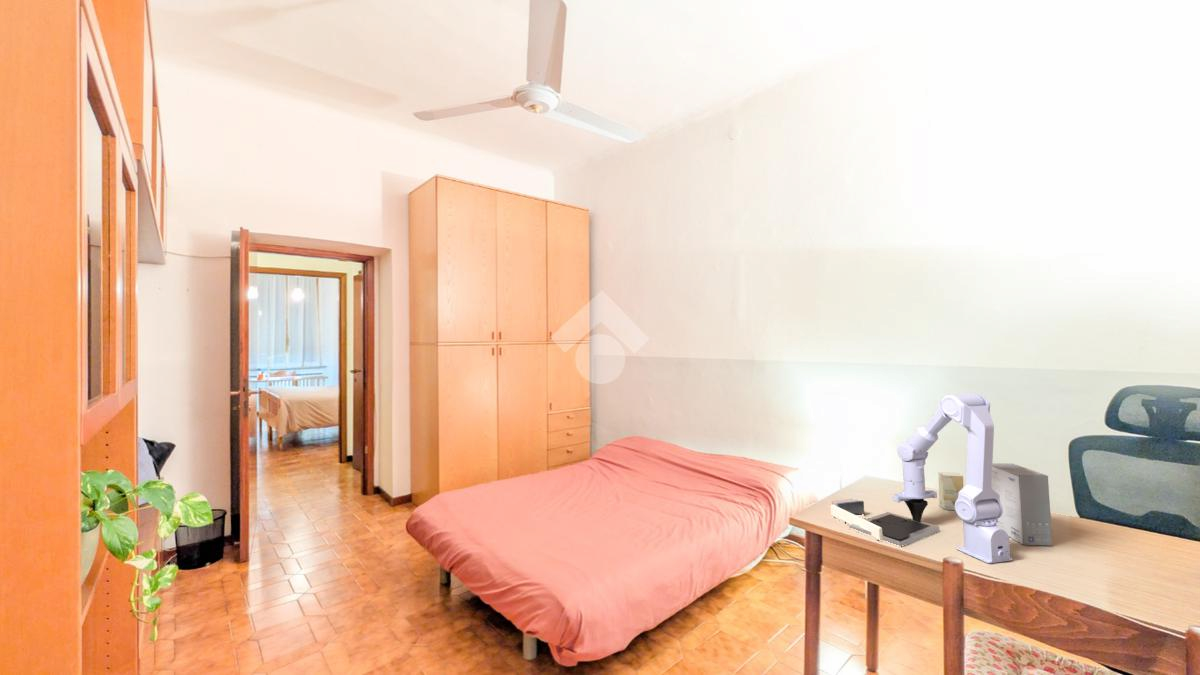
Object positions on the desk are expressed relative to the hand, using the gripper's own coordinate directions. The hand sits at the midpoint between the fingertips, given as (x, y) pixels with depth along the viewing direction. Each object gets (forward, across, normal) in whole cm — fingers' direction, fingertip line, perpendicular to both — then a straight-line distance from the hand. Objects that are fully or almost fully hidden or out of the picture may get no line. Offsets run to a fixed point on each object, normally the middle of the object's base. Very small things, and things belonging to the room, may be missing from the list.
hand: (916, 522), depth 150 cm
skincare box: (+2, -24, -10) cm, 26 cm away
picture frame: (+2, +10, +2) cm, 10 cm away
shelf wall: (+1, +19, -4) cm, 20 cm away
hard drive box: (+2, -22, +14) cm, 26 cm away
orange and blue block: (+1, +14, -14) cm, 20 cm away
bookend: (+1, +14, -11) cm, 18 cm away
